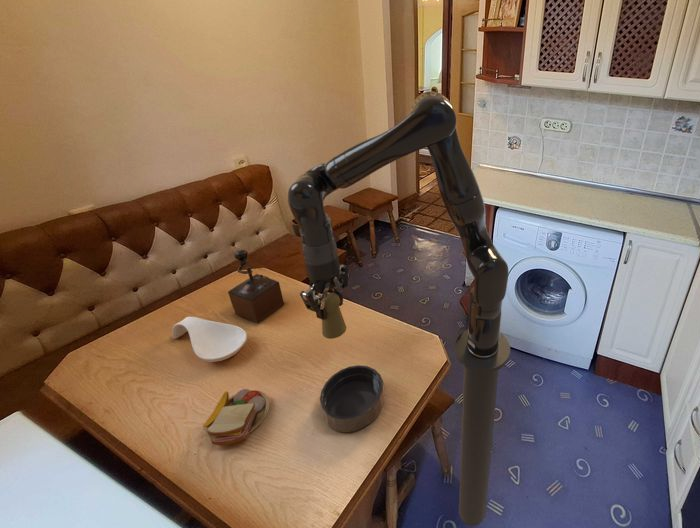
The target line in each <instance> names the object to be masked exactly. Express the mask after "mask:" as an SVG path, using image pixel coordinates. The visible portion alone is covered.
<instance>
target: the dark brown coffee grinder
mask: <svg viewBox="0 0 700 528" xmlns="http://www.w3.org/2000/svg"><path fill="white" fill-rule="evenodd" d="M248 255H249V254H248V251H247V250H246V249H238V250H237V251H236V252H235V253H234V254H233V257H234V259H236V260H237V261H239V266H238V267H237V269H236V270H237V273H239V274H244V275H248V277H249V278H248V279H246V280H244V281H242V282H241V283H239V284H237V285H236V286H234V287H233V288H231V289H229V290H228V291H227V294H228V296H229V300H230V303H231V306H232V309H233V311H234V314H235V315H236V316H237V317H238V318H241V319H244V320H246V321H249V322H252V323H254V324H256V325H259V324H260V323H261V322H263V321H265V320H266V319H268V318H269V317H270V316H272V314H274V313H276V312H277V311H279V309H281V308H282V307H283V306H284V305H285V301H284V298H283V293H282V290H281V289H282V288H281V285H280V282H279V281H278V280H275V279H273V278H270V277H268V276H265V275H263V274H258V273H256V274H254V275H253V270H252V267H251V266H247V267H246V270H242V269H243V268H244V266H246V265H247V264H248V263H249V262H250V260H249V259H248Z"/></svg>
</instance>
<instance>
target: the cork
mask: <svg viewBox="0 0 700 528" xmlns="http://www.w3.org/2000/svg"><path fill="white" fill-rule="evenodd" d="M318 303H320V300H319V302H318ZM339 305H340V298H339V296H338V295H337V294H335V293H333V292H328V295H327V299H326V300H325V304H324V307H325V311H326V316H327V318H326V319H325V320H322V319H321V334H322V336H323V337H324V338H325V339H328V340H330V339H331V340H333V339H337V338H340V337H341V336H343V335H344V334H345V333H346V331H347V325H346V322H345V319H344V316H343V313H342V311H341V307H340V306H339Z"/></svg>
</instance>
